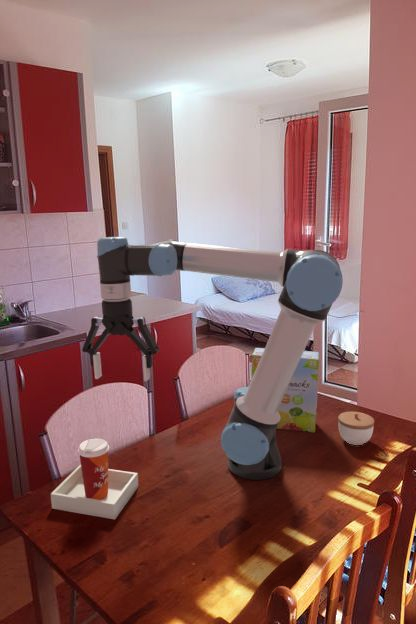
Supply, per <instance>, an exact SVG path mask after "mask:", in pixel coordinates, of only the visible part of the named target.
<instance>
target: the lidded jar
mask: <svg viewBox="0 0 416 624" xmlns="http://www.w3.org/2000/svg"><path fill="white" fill-rule="evenodd" d="M337 418H338V423H337V424H338V431H339V434H340V436H341V438H342V439H343V440H344V442H345V441H346V442H347V443H349V444H353V445H362V444H364V443H365V444H366V443H368V442H369V441H370V440H371V437H372V435H373V432H374V426H375V419H374V417H372V416H371V415H369V414H367V413H363V412H360V411H345V412H342V413H340V414H338V417H337ZM346 442H345V443H346ZM347 443H346V444H347ZM349 444H348V445H349ZM365 444H364V445H365ZM353 445H352V446H353ZM362 446H363V445H362Z"/></svg>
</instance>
